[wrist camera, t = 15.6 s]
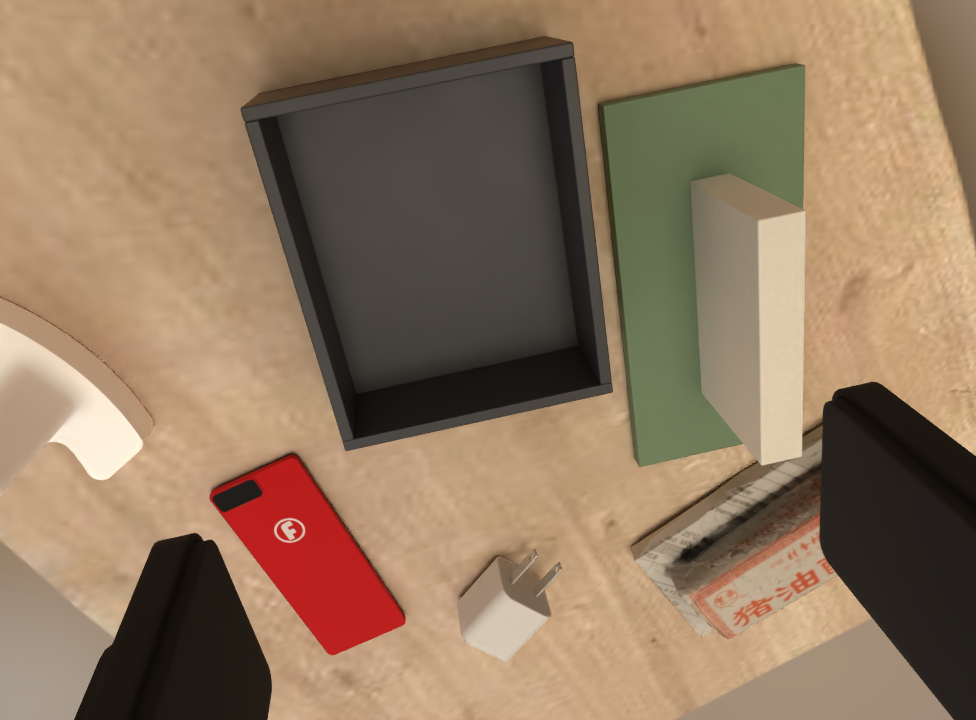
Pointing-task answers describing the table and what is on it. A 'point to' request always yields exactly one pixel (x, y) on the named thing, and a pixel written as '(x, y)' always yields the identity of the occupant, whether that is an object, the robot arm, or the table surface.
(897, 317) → the table surface
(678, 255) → the mat
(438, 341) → the bin
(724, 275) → the board
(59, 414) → the joystick
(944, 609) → the robot arm
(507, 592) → the usb wall charger
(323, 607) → the electronic device
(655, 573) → the packaged product
